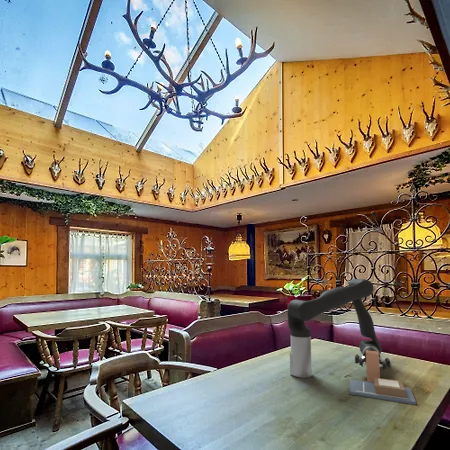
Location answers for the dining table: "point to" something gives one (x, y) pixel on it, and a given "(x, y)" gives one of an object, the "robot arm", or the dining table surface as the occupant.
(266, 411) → the dining table surface
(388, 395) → the blueprint board
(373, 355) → the terracotta pillar
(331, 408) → the dining table surface
